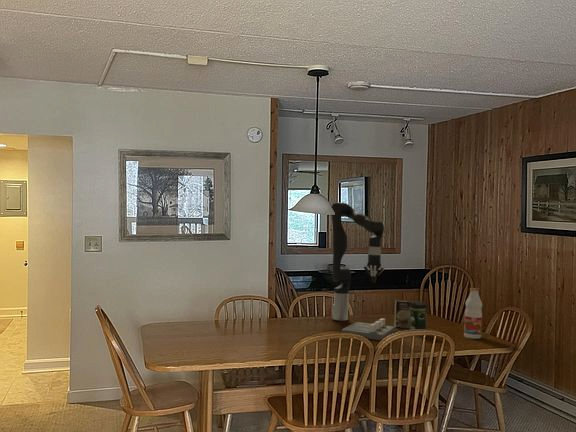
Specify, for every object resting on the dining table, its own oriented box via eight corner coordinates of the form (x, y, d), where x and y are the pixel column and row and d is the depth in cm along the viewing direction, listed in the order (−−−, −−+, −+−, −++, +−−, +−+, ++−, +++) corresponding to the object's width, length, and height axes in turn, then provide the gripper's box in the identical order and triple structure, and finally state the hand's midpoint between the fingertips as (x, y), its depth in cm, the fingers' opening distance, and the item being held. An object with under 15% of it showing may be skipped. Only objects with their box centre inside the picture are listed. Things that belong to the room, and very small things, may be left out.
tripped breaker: (374, 329, 323) (374, 322, 323) (376, 327, 328) (377, 320, 328) (378, 329, 322) (378, 322, 322) (380, 328, 327) (381, 321, 327)
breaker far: (378, 326, 331) (378, 319, 331) (381, 324, 336) (381, 318, 336) (382, 326, 330) (382, 320, 330) (385, 325, 335) (385, 318, 335)
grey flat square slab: (341, 334, 321) (341, 329, 321) (356, 326, 344) (356, 321, 344) (382, 340, 310) (382, 334, 310) (395, 331, 334) (395, 326, 334)
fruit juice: (481, 336, 329) (483, 288, 329) (480, 339, 320) (482, 290, 320) (464, 334, 333) (466, 286, 332) (463, 337, 324) (465, 288, 323)
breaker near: (369, 331, 315) (369, 324, 315) (372, 330, 320) (372, 323, 320) (373, 332, 314) (373, 325, 314) (376, 330, 319) (376, 323, 319)
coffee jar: (419, 331, 338) (420, 300, 338) (428, 334, 331) (429, 302, 330) (406, 332, 334) (407, 300, 333) (414, 335, 327) (415, 302, 326)
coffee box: (394, 327, 345) (395, 301, 345) (393, 325, 352) (394, 299, 352) (410, 328, 345) (411, 302, 344) (409, 326, 351) (409, 300, 351)
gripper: (362, 253, 345) (361, 282, 345) (383, 255, 339) (382, 284, 339) (365, 252, 352) (364, 280, 352) (386, 254, 346) (385, 282, 346)
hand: (373, 282), depth 346 cm, fingers closed
